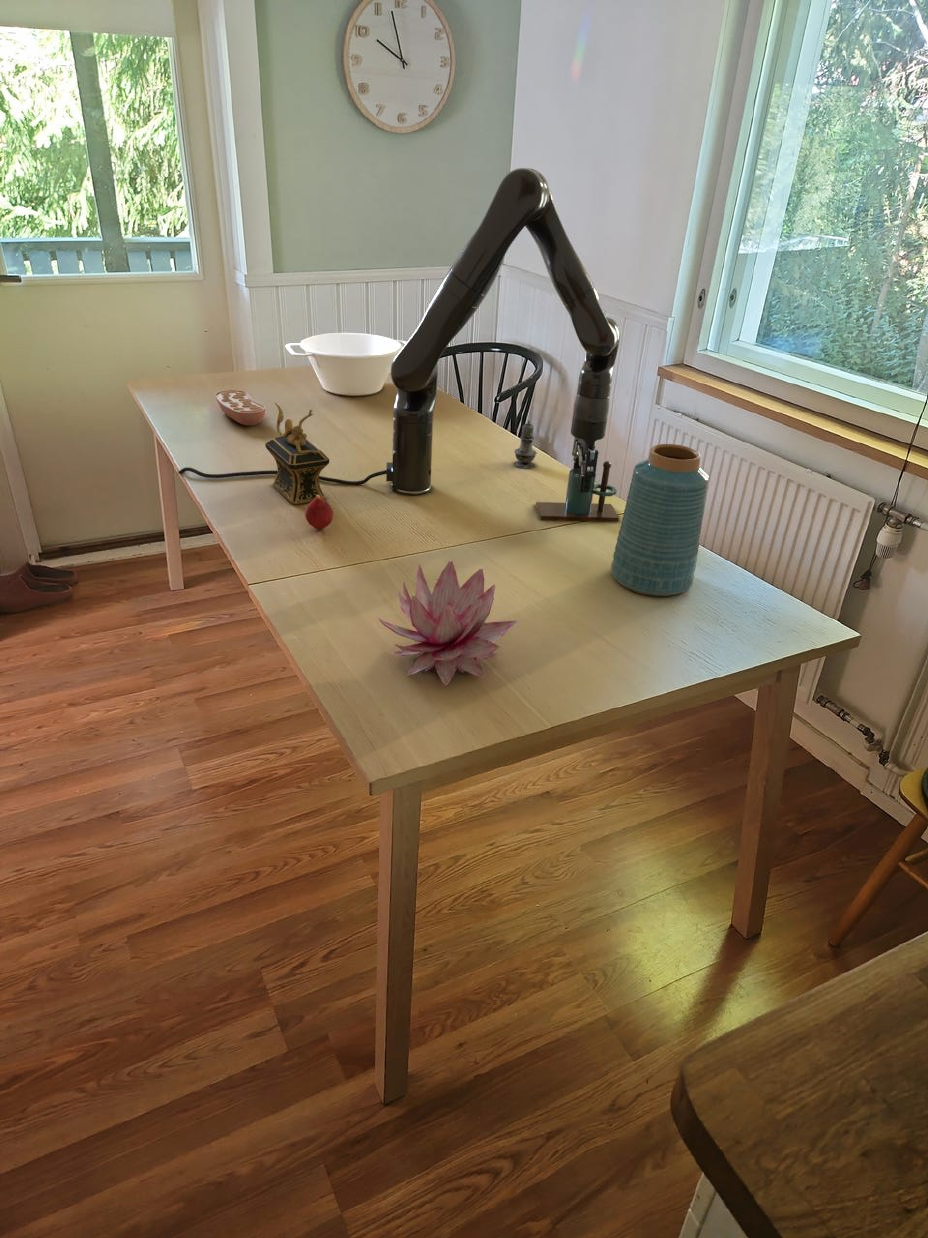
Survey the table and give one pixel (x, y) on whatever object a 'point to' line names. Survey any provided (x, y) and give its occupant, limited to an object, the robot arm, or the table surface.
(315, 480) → the decorative box
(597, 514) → the mug stand
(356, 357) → the pot
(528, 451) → the grey chess piece
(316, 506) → the onion
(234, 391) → the anatomical model
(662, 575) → the vase
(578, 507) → the mug
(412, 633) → the decorative flower
